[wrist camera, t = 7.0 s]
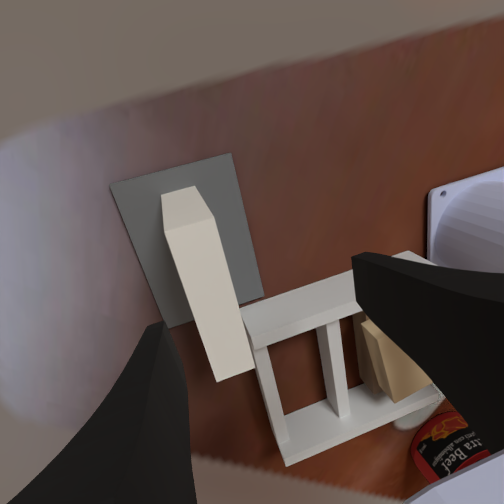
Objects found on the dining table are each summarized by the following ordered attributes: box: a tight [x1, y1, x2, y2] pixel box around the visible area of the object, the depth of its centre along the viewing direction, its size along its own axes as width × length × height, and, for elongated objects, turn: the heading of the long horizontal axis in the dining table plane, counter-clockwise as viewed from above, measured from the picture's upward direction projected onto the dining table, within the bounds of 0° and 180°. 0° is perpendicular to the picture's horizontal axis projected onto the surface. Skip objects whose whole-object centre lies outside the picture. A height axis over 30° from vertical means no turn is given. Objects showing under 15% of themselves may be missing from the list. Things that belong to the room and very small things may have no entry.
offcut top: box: [361, 319, 433, 404], centre depth 25 cm, size 4×7×2 cm, turn 22°
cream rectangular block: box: [161, 186, 255, 382], centre depth 18 cm, size 2×8×7 cm, turn 13°
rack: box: [239, 250, 439, 467], centre depth 26 cm, size 14×13×4 cm
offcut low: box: [352, 311, 383, 395], centre depth 27 cm, size 4×9×2 cm, turn 14°
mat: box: [109, 153, 264, 329], centre depth 21 cm, size 7×10×1 cm
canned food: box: [411, 412, 491, 484], centre depth 32 cm, size 8×8×11 cm
